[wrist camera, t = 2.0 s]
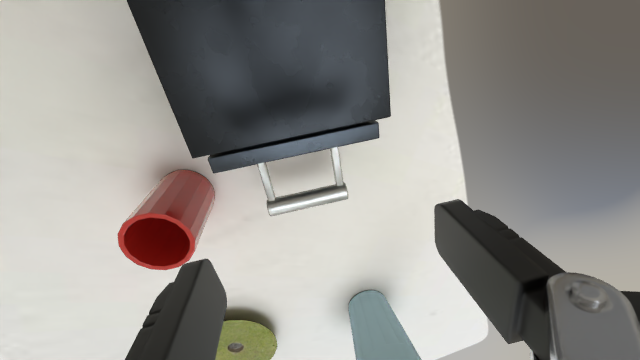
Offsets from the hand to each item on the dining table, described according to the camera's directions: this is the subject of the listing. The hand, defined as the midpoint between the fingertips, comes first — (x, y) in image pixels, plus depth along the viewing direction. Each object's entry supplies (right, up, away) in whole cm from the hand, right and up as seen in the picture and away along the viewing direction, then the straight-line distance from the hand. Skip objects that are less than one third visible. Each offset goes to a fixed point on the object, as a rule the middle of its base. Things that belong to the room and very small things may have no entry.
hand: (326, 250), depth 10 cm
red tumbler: (-14, +1, +18) cm, 23 cm away
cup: (+7, -15, +30) cm, 34 cm away
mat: (-12, -19, +29) cm, 37 cm away
